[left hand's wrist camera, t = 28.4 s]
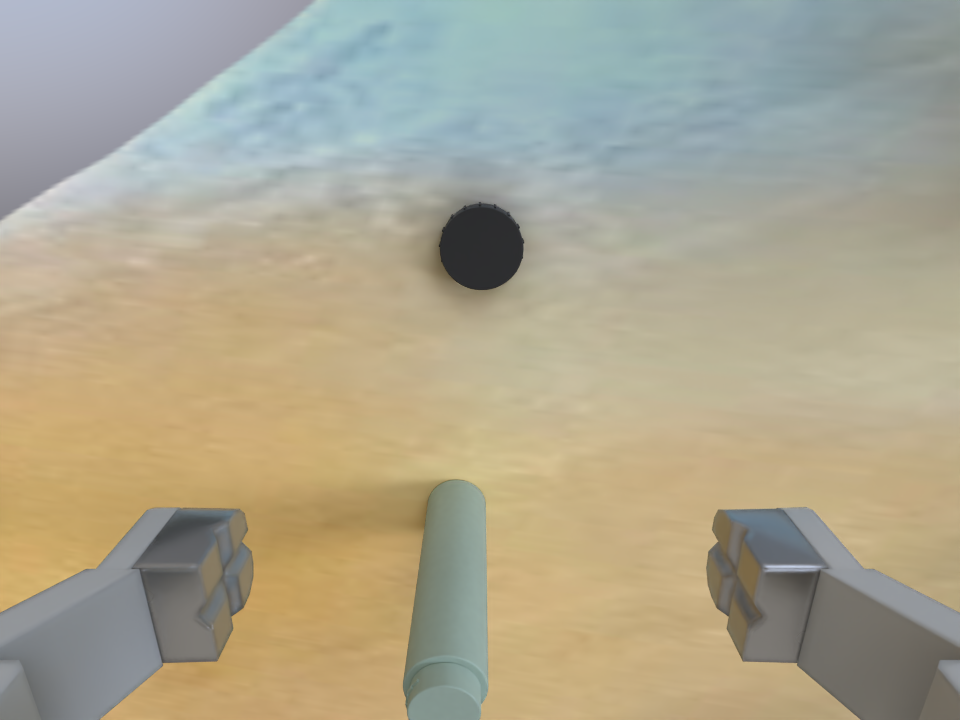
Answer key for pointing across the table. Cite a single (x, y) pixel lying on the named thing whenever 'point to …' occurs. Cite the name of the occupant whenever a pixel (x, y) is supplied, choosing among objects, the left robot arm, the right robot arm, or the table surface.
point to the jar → (450, 609)
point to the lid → (481, 246)
